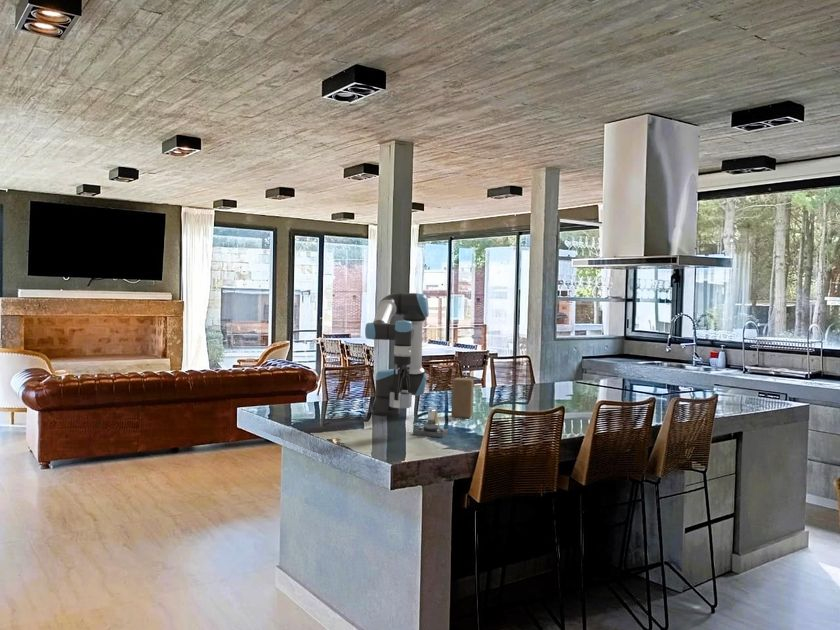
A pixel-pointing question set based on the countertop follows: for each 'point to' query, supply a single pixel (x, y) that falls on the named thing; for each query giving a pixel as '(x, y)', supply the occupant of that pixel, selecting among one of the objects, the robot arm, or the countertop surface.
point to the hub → (402, 399)
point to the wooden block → (462, 397)
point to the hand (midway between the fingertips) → (400, 405)
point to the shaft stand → (431, 426)
